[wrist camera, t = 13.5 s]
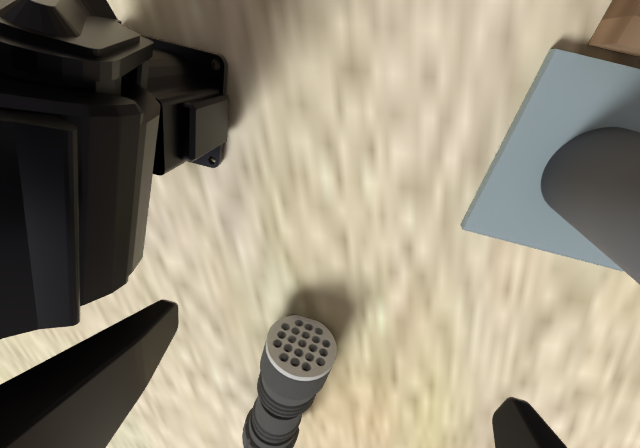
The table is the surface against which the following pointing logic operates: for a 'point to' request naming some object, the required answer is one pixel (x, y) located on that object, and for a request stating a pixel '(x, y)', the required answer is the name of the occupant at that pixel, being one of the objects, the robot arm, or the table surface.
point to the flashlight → (288, 380)
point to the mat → (552, 151)
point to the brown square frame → (620, 28)
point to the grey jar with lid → (600, 191)
